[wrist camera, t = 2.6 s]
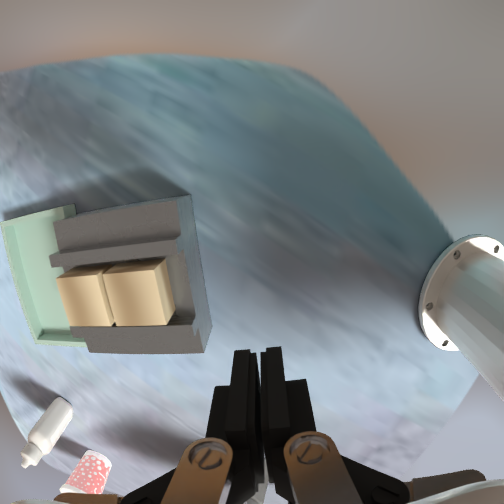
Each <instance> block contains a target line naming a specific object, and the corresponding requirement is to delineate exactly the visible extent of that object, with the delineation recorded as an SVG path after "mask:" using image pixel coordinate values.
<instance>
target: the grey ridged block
mask: <svg viewBox="0 0 504 504" xmlns="http://www.w3.org/2000/svg"><path fill="white" fill-rule="evenodd" d="M53 226H54V231H55V236H56V240H57V245H58V250H59V251H57V252H55V253H53V254H51V255H49V260H50V264H51V268H54V267H63V270H64V273H65V272H67V271H68V270H70V269H72V268H79V267H89V266H99V265H109V264H112V267H113V266H115V265H116V264H119V263H128V262H138V261H148V260H158V259H165V260H166V266H167V271H168V276H169V281H170V286H171V290H172V295H173V300H174V304H175V309H176V310H175V311H174V313H173V315H172V316H171V318H170V320H169V322H168V323H167V325H151V326H116V323H115V322H114V323H113V324H112V326H70V327H69V328H70V330H71V333H72V336H73V337H74V338H84V339H85V342H86V345H87V347H88V350H89V352H91V353H117V354H188V353H204V351H205V348H206V345H207V342H208V338H209V335H210V332H211V329H212V322H211V317H210V312H209V306H208V301H207V295H206V289H205V283H204V278H203V272H202V266H201V259H200V253H199V247H198V240H197V234H196V227H195V220H194V214H193V207H192V199H191V195H184V196H177V197H170V198H163V199H157V200H151V201H144V202H138V203H132V204H127V205H121V206H115V207H110V208H104V209H99V210H94V211H88V212H83V213H79V214H76V215H73V216H70V217H67V218H64V219H61V220H58V221H55V222H53Z"/></svg>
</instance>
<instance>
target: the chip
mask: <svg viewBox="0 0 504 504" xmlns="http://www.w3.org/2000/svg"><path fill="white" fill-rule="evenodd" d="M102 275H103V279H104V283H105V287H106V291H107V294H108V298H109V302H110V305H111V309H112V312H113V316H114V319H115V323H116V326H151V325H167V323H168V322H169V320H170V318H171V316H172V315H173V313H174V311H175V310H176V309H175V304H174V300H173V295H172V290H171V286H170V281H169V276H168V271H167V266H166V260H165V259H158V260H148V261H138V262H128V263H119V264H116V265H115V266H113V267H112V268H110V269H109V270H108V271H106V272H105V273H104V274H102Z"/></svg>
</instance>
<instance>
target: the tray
mask: <svg viewBox="0 0 504 504" xmlns="http://www.w3.org/2000/svg"><path fill="white" fill-rule="evenodd" d="M73 215H76V209H75V203H74V204H70V205H66V206H61V207H57V208H53V209H49V210H44V211H40V212H36V213H32V214H28V215H25V216H21V217H17V218H13V219H10V220H7V221H3V222H0V225H1V230H2V235H3V240H4V244H5V249H6V253H7V257H8V261H9V265H10V269H11V273H12V276H13V280H14V284H15V287H16V290H17V294H18V297H19V300H20V303H21V306H22V309H23V312H24V315H25V318H26V321H27V323H28V326H29V329H30V331H31V334H32V337H33V339H34V342H35V344H42V345H55V346H71V347H87V345H86V342H85V339H84V338H74V337H73V336H72V333H71V330H70V328H69V327H70V324H69V321H68V318H67V315H66V312H65V309H64V306H63V303H62V300H61V296H60V293H59V289H58V286H57V282H56V279H55V278H57V277H59V276H60V275H62V274H63V273H64V270H63V267H54V268H51V264H50V260H49V255H51V254H53V253H55V252H57V251H59V250H58V245H57V240H56V236H55V231H54V226H53V222H55V221H58V220H61V219H64V218H67V217H70V216H73Z"/></svg>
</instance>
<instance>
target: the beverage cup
mask: <svg viewBox="0 0 504 504" xmlns="http://www.w3.org/2000/svg"><path fill="white" fill-rule="evenodd" d="M110 469H111V462H110V461H109V460H108V459H107V458H106V457H105V456H103V455H102V454H100V453H98V452H96V451H92V450H88V451H86V452H85V454H84V455H83V457H82V458H81V460H80V461H79V463H78V465H77V466H76V468H75V469H74V471H73V472H72V474H71V475H70V477H69V479H68V480H67V482H66V483H65V484H63V485H62V487H61V488H60V492H61V493H67V492H71V493H86V494H102V492H103V489H104V486H105V483H106V480H107V477H108V475H109V472H110Z"/></svg>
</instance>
